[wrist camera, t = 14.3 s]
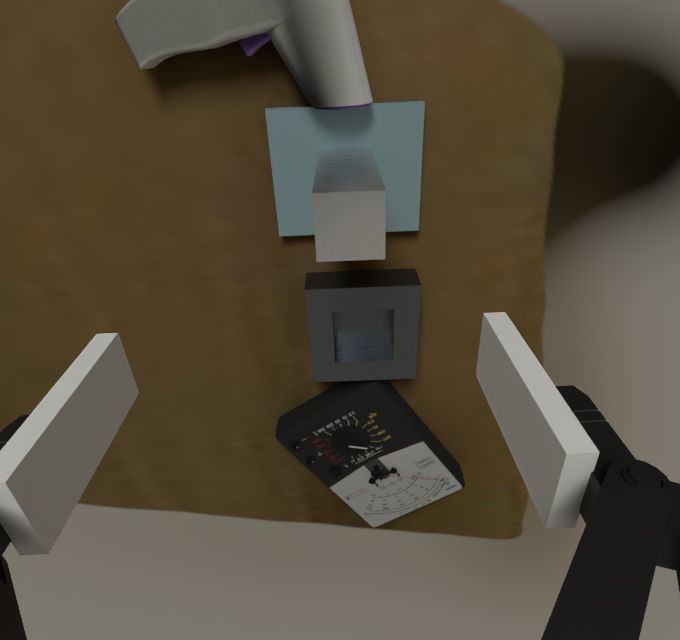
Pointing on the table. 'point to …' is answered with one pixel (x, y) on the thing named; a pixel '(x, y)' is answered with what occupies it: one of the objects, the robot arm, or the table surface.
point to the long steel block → (348, 206)
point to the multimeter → (370, 449)
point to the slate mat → (346, 132)
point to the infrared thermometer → (259, 39)
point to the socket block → (363, 324)
